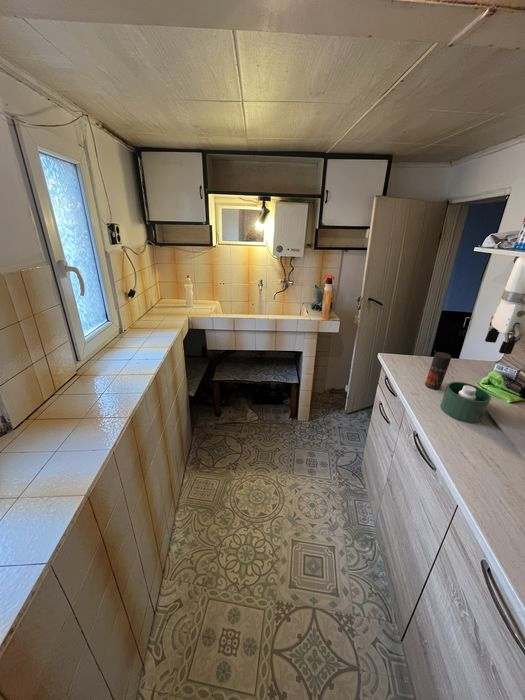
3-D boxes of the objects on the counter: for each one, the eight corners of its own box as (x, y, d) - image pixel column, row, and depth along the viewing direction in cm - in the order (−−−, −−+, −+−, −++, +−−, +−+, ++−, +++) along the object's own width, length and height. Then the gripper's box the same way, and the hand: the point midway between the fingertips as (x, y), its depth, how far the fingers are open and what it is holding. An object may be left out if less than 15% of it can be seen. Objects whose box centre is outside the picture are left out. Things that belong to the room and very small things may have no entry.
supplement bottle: (451, 411, 105) (460, 388, 100) (452, 404, 109) (461, 382, 104) (469, 416, 102) (479, 394, 98) (469, 409, 106) (478, 387, 102)
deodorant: (424, 381, 125) (434, 350, 119) (439, 384, 123) (450, 354, 117) (425, 387, 120) (435, 356, 114) (440, 391, 118) (452, 359, 112)
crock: (472, 404, 110) (481, 385, 106) (488, 426, 98) (498, 405, 94) (435, 398, 113) (442, 379, 109) (446, 419, 101) (454, 398, 97)
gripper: (549, 306, 80) (524, 359, 87) (515, 292, 95) (496, 339, 102) (519, 303, 81) (496, 356, 88) (490, 290, 96) (473, 337, 104)
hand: (496, 347), depth 95 cm, fingers open, 9 cm apart
